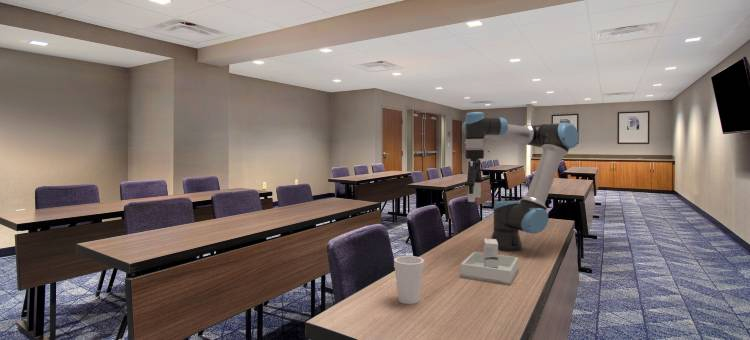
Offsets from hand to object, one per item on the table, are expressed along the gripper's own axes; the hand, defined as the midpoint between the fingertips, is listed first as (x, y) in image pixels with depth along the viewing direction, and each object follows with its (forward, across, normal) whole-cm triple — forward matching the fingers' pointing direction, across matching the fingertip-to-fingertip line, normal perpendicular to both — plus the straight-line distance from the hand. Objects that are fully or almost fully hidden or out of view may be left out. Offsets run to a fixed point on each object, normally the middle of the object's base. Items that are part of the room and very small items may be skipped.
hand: (474, 199), depth 166 cm
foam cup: (+26, +52, -11) cm, 59 cm away
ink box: (+26, +13, +8) cm, 30 cm away
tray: (+27, +13, +8) cm, 31 cm away
